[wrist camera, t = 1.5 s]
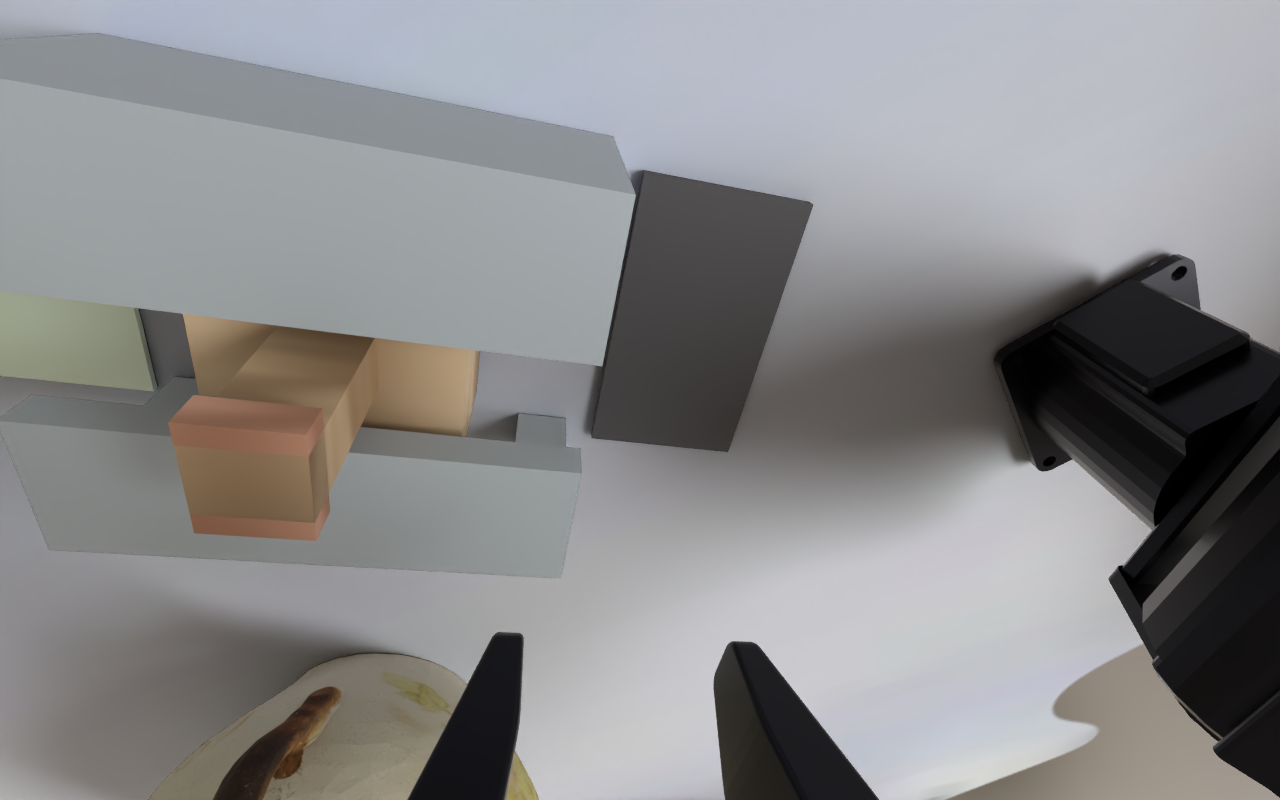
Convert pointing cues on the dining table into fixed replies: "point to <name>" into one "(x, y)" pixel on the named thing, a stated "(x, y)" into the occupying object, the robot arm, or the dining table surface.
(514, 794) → the sugar bowl
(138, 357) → the pad
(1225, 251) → the dining table surface
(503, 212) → the tunnel
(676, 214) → the mat
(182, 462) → the tan t-shaped block
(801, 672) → the dining table surface
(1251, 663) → the robot arm
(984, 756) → the dining table surface
